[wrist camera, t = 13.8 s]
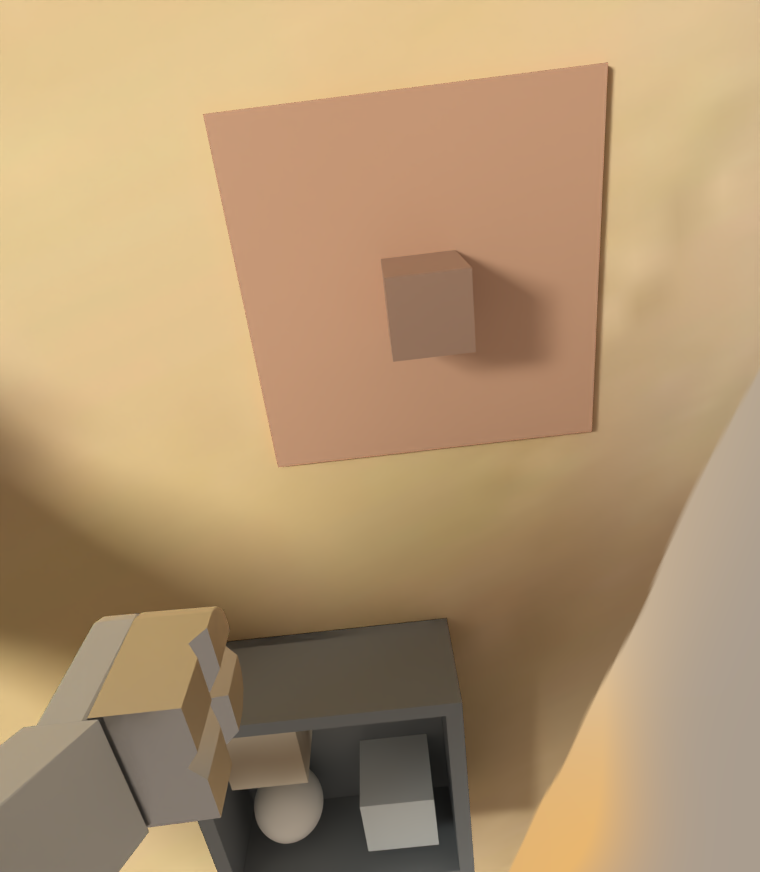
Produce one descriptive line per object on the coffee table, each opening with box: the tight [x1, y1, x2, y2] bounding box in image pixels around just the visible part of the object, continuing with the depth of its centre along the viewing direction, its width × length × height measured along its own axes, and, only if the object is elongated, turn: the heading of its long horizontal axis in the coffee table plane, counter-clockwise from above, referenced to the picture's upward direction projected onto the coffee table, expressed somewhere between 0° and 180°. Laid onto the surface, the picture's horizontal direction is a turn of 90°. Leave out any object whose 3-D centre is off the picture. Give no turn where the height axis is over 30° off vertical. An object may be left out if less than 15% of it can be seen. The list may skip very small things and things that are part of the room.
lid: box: [203, 62, 608, 467], centre depth 23 cm, size 15×15×5 cm
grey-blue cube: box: [360, 734, 439, 851], centre depth 35 cm, size 4×4×4 cm
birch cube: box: [226, 730, 312, 790], centre depth 32 cm, size 4×4×4 cm
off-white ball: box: [254, 769, 324, 844], centre depth 35 cm, size 4×4×4 cm
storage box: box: [198, 618, 475, 872], centre depth 33 cm, size 14×14×6 cm
